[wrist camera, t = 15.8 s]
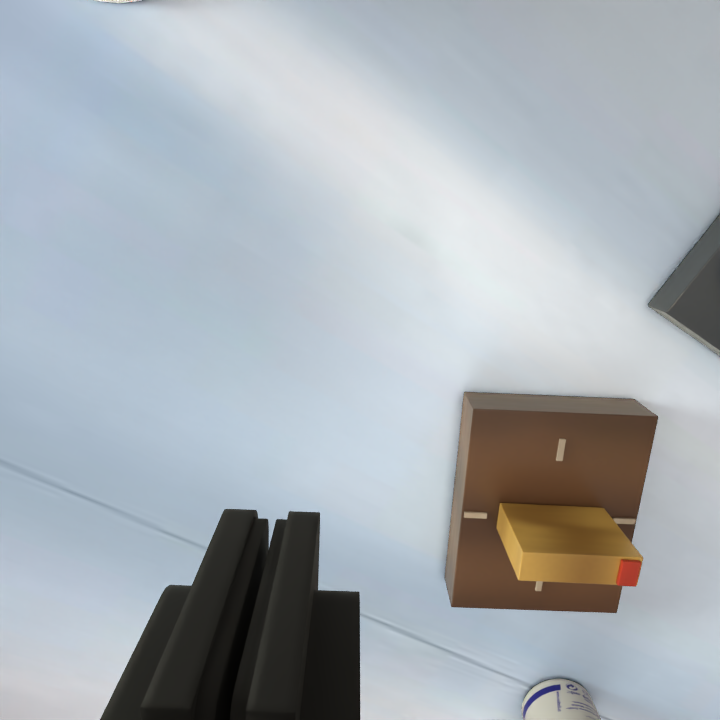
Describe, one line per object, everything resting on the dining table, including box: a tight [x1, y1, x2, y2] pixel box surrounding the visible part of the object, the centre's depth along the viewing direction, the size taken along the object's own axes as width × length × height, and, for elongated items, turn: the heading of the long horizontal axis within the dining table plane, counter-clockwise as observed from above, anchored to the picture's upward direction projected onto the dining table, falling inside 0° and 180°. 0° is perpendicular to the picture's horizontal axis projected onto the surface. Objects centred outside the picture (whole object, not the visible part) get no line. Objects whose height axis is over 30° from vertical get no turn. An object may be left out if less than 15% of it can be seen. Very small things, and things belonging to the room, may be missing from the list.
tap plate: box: [445, 392, 658, 613], centre depth 36 cm, size 14×11×3 cm
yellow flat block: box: [496, 503, 643, 586], centre depth 32 cm, size 6×2×5 cm, turn 87°
